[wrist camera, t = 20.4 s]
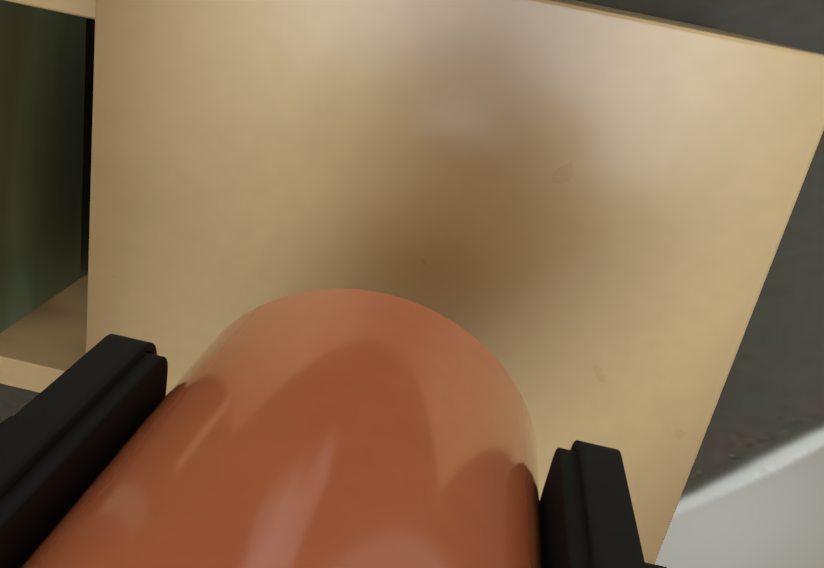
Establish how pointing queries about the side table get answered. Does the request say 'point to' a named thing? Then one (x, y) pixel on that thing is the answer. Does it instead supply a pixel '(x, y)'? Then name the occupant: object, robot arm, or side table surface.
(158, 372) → the robot arm
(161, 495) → the spice jar
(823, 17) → the side table surface
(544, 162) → the cabinet
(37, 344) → the drawer
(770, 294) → the side table surface
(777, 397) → the side table surface
